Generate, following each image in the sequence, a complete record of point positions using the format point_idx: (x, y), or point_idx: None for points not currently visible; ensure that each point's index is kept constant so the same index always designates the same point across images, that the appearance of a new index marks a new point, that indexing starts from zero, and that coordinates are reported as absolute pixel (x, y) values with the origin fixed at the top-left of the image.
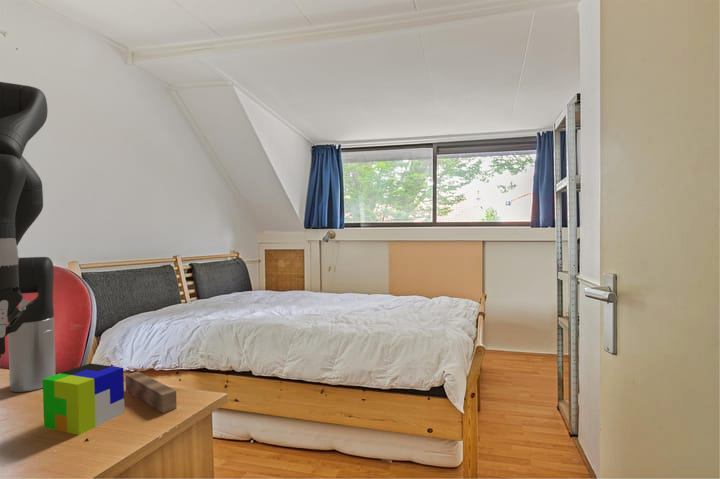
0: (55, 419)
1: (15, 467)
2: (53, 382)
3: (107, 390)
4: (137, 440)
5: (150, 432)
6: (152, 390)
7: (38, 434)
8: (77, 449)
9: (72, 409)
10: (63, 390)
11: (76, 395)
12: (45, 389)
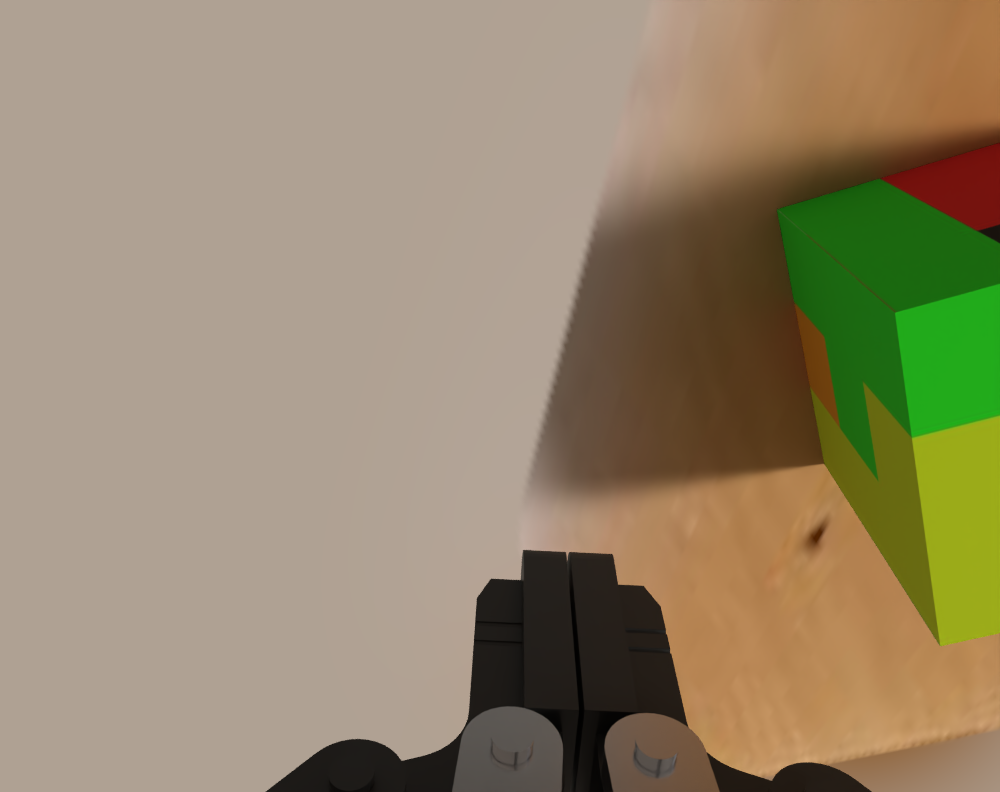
0: (813, 324)
1: (541, 541)
2: (905, 424)
3: None
4: (916, 697)
5: (991, 680)
6: None
7: (719, 285)
8: (747, 587)
9: (864, 495)
10: (898, 491)
11: (905, 584)
12: (866, 312)
